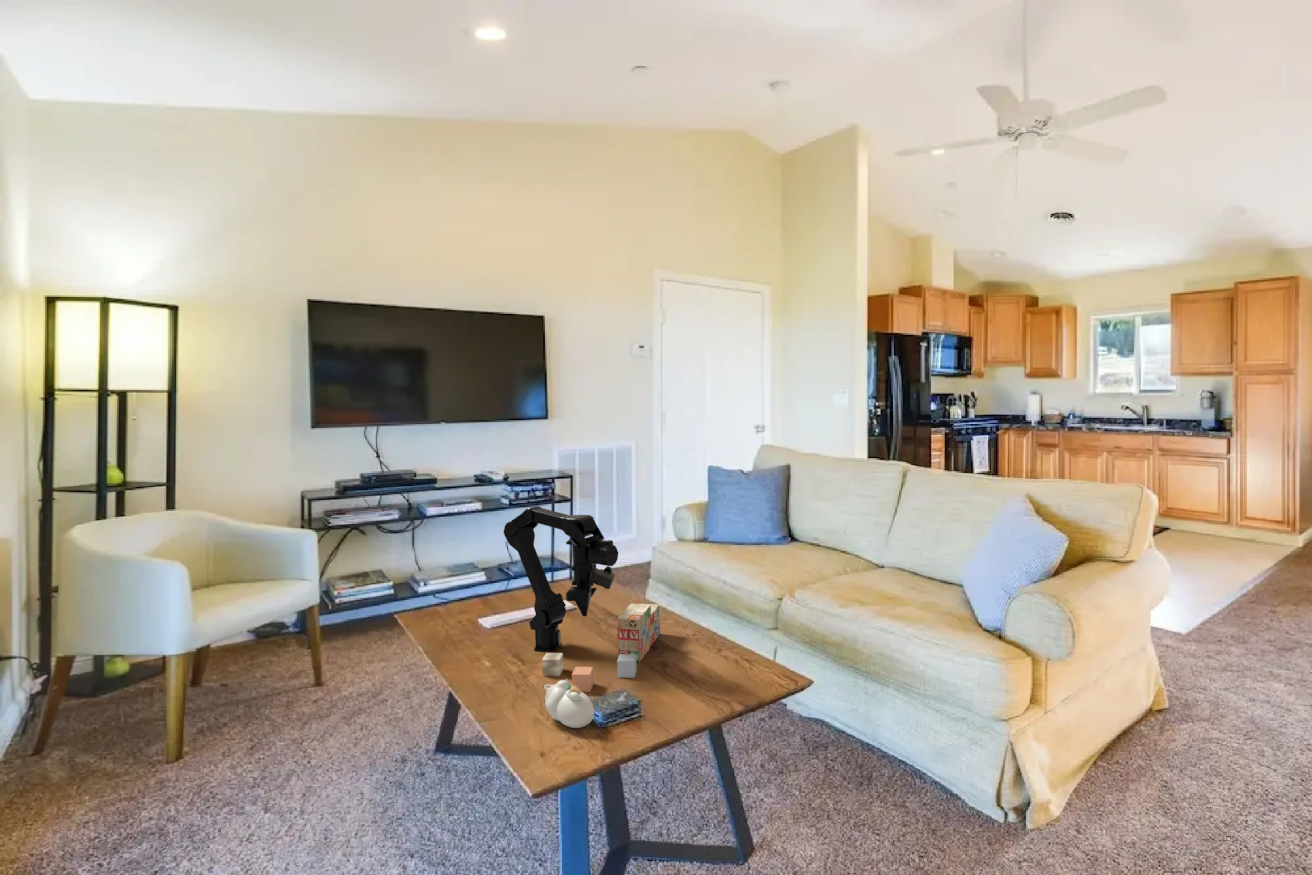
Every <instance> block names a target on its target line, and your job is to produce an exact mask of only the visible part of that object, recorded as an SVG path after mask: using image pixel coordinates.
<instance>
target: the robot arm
mask: <svg viewBox="0 0 1312 875" xmlns="http://www.w3.org/2000/svg"><path fill="white" fill-rule="evenodd" d="M539 524H540V525H543V526H546V527H549V528H553V529H554V528H555V529H557V530H560V531H562V532H563V533H564V534H565V535H566V536H568V537H569V538H568V540H567V541H566V542H565V544H566V545H570V546H572V566H571V568H570V569H571V571H572V572H573V573H572V574H573V580H572V581H571V587H569V589H568V590H567V591H566V593H565V600H564V598H563V595H562V593H561V592H559V593H555V592H554V591H553V589H552V588H551V586H550V582H549V580H548V578H547V576H546V572H545V571H544V568H543V565H542V563H541V561H540V558H539V556H538V553H537V550H536V548H535V545H534V544H535V537H536V535H535V530H534V529H535V528H536V527H537V526H538V525H539ZM503 535H504V537H505V539H506V541H507V543H508V544H509V546H511V547H512V549H514V550H515V551H517V553H518V556H519V558H520V561H521V563H522V567H523V568H524V569H523V570H524V571H525V574H526V576H527V578H528V581H529V584H530V586H531V589H532V591H533V594H534V597H535V598H534V607H533V609H534V613H535V615H534V616H533V618H532V619H531V620H530V621H529V623H528V624H529V627H530V629H531V630H533V631H534V635H535V636H534V637H535V640H534V641H535V647H533V651H535V650H536V652H537V651H539V652H542V651H543V652H544V651H545V652H549V651H550V652H555V651H557V650H558V648H559V647H560V645H561V644H562V641H561V640H562V639H561V629H559V625H562V624H563V622H564V618H565V616H566V613H567V609H566V606H567V604H566V603H565V601H567V602H575V603H576V606H577V608H578V610H579V611H580V614H581V616H582V617H587V616H588V613H589V607H590V603H591V598H593V596H594V594H595V592H596V591H597V589H598V588H597V587H593V586H594V585H597V586H599V587H603V588H604V589H605V590H610V589H611V588H612V585H613V582H614V579H615V577H616V575H615V573H614V572H613V568H612V567H613V566H614V565H616V563H617V561H618V559H619V558H618V557H619V551H618V548H617V546H616V545H614V541H613V540H611V539H610V540H609V539H608V540H607V539H605V536H604V535H603V534H602V532H601V529H600V528H599V526H598V525H597V523H596V521H595V518H594V517H593V516H592V515H590V514H573V515H572V514H565V513H562V512H558V511H555V510H550V509H547V508H542V507H541V506H538V505H535V506H531V507H528V508H526V509H525V510H524V511H523V512H521V513H520V514H519V515H518V516H515V518H512V520H510V521H508V522H506V523H505V525H504V529H503ZM597 565H601V566H606V567H604V568H597Z"/></svg>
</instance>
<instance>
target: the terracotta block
mask: <svg viewBox="0 0 1312 875" xmlns="http://www.w3.org/2000/svg"><path fill="white" fill-rule="evenodd" d="M571 684H572V685H573V686H577V687H578V688H579V689H580V691H581V692H583V693H586V692H588V693H590V692H591V690H592V688H593V687H594V667H593V666H575V667H574V668H573V671H572V673H571Z"/></svg>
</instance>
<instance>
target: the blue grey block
mask: <svg viewBox="0 0 1312 875" xmlns="http://www.w3.org/2000/svg"><path fill="white" fill-rule="evenodd" d="M616 670H617V671H616V673H617V674H616V675H617V678H623V679H624V678H627V679H628V678H629V679H630V678H631V679H634V678H636V674H637V672H638V671H637V670H638V669H637V661H636V654H619V653H618V658H617V660H616Z"/></svg>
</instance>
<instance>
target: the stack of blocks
mask: <svg viewBox="0 0 1312 875" xmlns="http://www.w3.org/2000/svg"><path fill="white" fill-rule="evenodd" d="M659 634H660V635H661V615H660V605H659V604H655V603H654V604H652V603H629V605H628V607H626V609H625V610H624V611H623V612H622V613H621V614H620V615H619V616H618V617H617V639H618V642H617V644H618V655H619V654H636V662H639V663H640V662H641V661H642V659H643V658H644V657H645V656H646V654H647V653H648V652H647V651H649V650H650V648H651V647H652V645H653V644H654V642H655V641H656V640H657V639H658V637H659V636H660V635H659ZM656 638H657V639H656ZM652 643H653V644H652ZM650 646H651V647H650ZM644 655H645V656H644Z"/></svg>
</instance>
